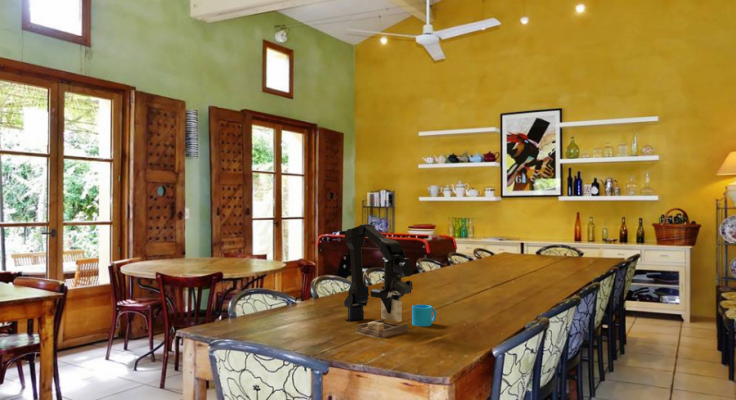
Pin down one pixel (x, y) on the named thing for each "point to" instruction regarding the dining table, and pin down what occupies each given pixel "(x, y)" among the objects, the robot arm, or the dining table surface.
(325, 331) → the dining table surface
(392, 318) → the block
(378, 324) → the offcut top
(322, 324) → the dining table surface
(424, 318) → the mug
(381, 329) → the offcut low
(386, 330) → the rack
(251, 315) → the dining table surface
